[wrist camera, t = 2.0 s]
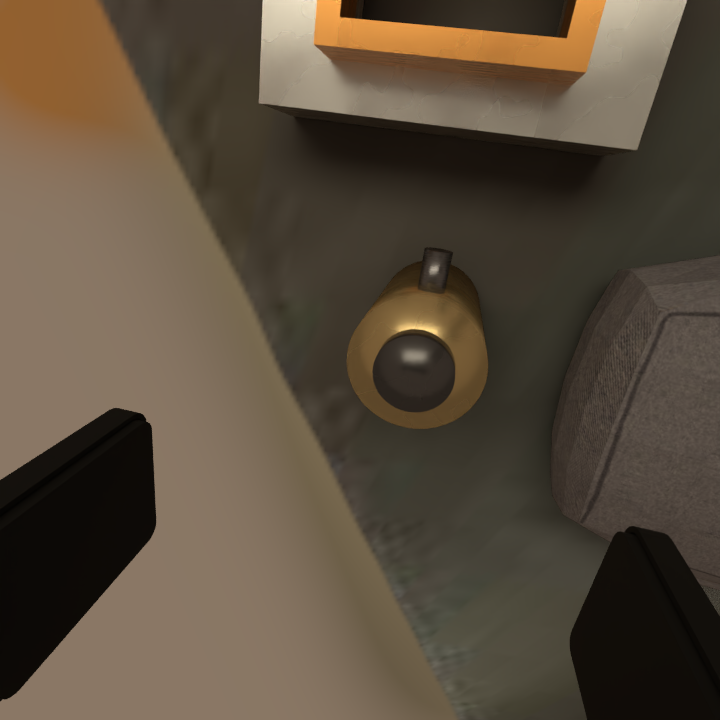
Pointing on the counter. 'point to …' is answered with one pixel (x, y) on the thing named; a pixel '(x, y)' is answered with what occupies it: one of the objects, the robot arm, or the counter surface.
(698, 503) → the grey rounded bag
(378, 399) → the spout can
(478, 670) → the counter surface
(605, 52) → the orange white open box
